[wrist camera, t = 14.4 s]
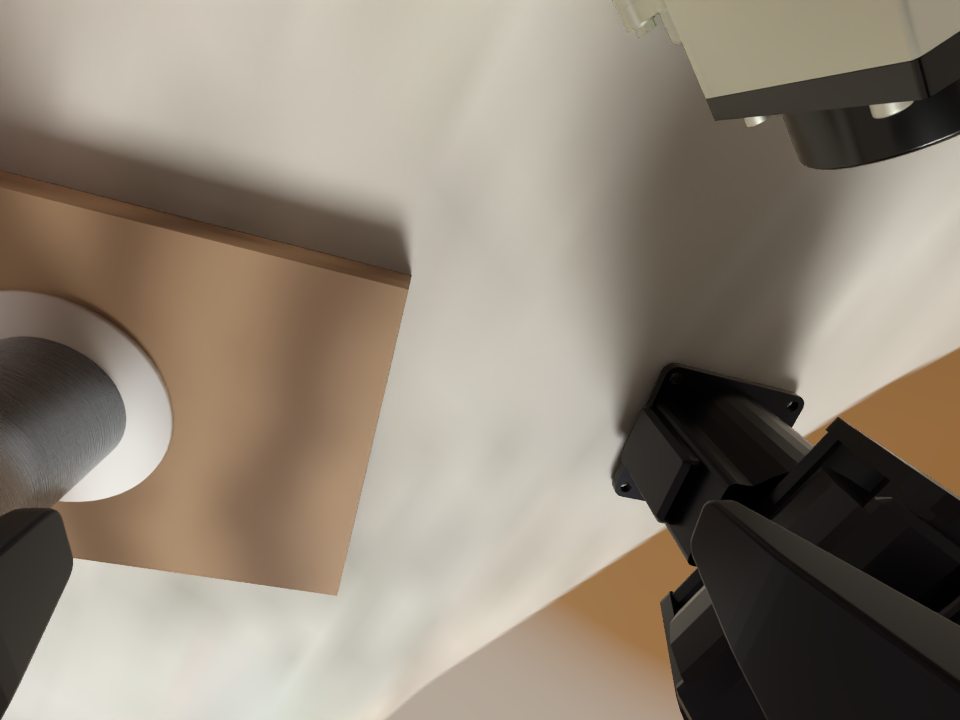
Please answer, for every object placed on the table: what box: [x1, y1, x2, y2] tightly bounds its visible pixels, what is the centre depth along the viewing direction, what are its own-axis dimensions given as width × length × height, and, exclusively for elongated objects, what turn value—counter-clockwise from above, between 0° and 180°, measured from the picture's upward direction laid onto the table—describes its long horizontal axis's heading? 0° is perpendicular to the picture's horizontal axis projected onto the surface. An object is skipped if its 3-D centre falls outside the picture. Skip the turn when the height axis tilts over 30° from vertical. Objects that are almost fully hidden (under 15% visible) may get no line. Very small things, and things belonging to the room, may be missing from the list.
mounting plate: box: [0, 171, 411, 596], centre depth 19 cm, size 18×14×2 cm
